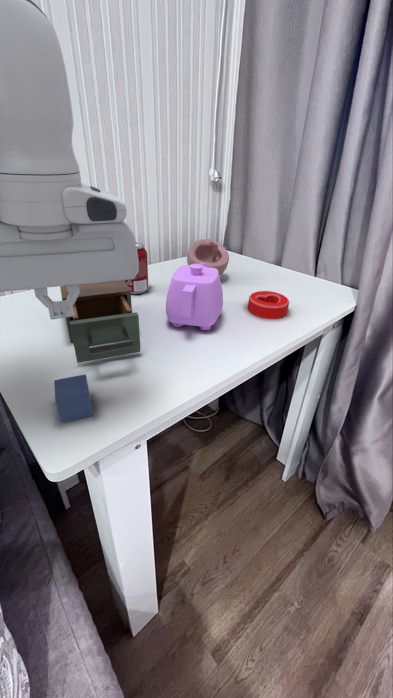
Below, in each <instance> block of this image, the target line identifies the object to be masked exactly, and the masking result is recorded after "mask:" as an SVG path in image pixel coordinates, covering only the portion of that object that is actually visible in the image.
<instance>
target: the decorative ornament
mask: <svg viewBox="0 0 393 698" xmlns="http://www.w3.org/2000/svg"><path fill="white" fill-rule="evenodd" d="M247 302H248V303H247V310H248V312H249V313H250V314H252V315H253V316H256V317H258V318H262V319H267V320H268V319H269V320H277V319H282V318H285V317H286V316H287V314H288V311H289V307H290V306H289V305H290V301H289V298H288V297H287V296H285V295H284V294H281V293H279V292H277V291H270V290H260V291H259V290H258V291H254V292H251V294H250V295H249V297H248V301H247Z"/></svg>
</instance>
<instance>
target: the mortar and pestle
mask: <svg viewBox="0 0 393 698" xmlns="http://www.w3.org/2000/svg"><path fill="white" fill-rule="evenodd" d="M229 261H230V255H229V252H228V250H227V248H226V247H225V246H224V245H223V244H222V243H220V242H218V241H216V240H213V239H210V238H206V239H205V238H204V239H198V240H195V241H194V242H192V243H191V244H190V246H189V248H188V249H187V253H186V264H187V265H191V264H200V263H206V267H210V268H216V269H217V270H218V272H219V276H220V277H221V275H223V274H224V272H225V271H226V270H227V268H228V265H229V263H230V262H229Z"/></svg>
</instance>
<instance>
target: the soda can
mask: <svg viewBox="0 0 393 698" xmlns="http://www.w3.org/2000/svg"><path fill="white" fill-rule="evenodd" d="M135 242H136V241H135ZM136 247H137V253H138V261H139V272H138V273H137V275H136V276H135V278H134V279H129V280H125V282H126V284H127V286H128V287H129V289H130V291H131V295H139V294H143V293H145V292H147V291H148V290H149V267H148V265H149V264H148V252H147V250H146V248H145V244H143V243H142V242H136Z"/></svg>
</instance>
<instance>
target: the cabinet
mask: <svg viewBox="0 0 393 698" xmlns="http://www.w3.org/2000/svg"><path fill="white" fill-rule="evenodd" d="M59 288H60V289H59V290H60V295H61V301H64V300H66V299H67V297H68V294H69V293H68V289H67V286H59ZM79 289H80V293H79V295H78V297H77V299H76V301H78V300H87V299H96V298H104V297H113V296H122V295H124V297H125V299H126V301H127V303H128V305H129V307H130V309H131V311H132V312H133V305H132V294H131V291H130V289H129V287H128V286H127V284H126V282H125V280H119V281H108V282H98V283H88V284H79ZM70 321H73V317H66V318H65V322H66V327H67V332H68V336H69V342H70V344H74V343H73V338H72V333H71V327H70Z"/></svg>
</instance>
